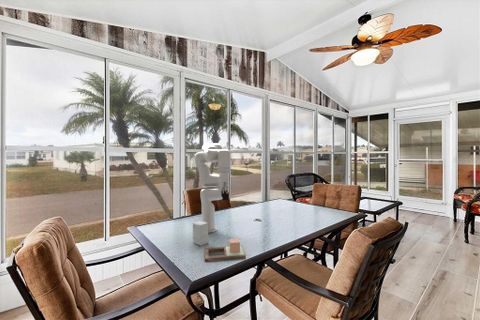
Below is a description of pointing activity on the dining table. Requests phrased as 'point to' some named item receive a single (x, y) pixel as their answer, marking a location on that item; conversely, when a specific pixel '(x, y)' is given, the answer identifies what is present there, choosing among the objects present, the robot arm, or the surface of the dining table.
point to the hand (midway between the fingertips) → (224, 198)
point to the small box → (200, 233)
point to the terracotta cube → (234, 245)
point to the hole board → (219, 252)
